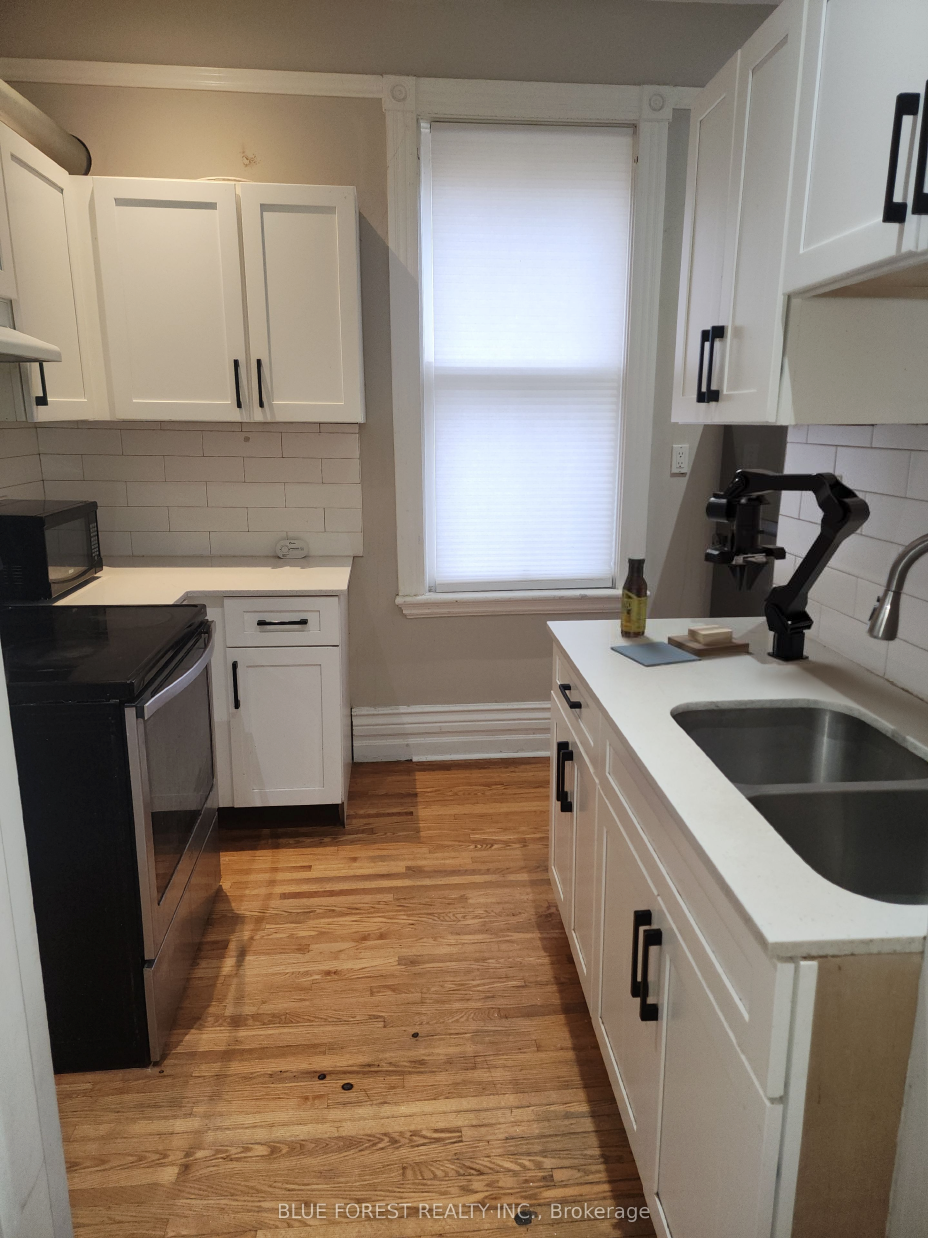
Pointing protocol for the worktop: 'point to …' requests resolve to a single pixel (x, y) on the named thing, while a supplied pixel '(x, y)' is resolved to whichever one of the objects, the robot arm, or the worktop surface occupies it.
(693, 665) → the worktop surface
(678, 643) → the walnut board
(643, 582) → the sauce bottle
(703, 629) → the beech tile
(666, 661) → the rubber mat
